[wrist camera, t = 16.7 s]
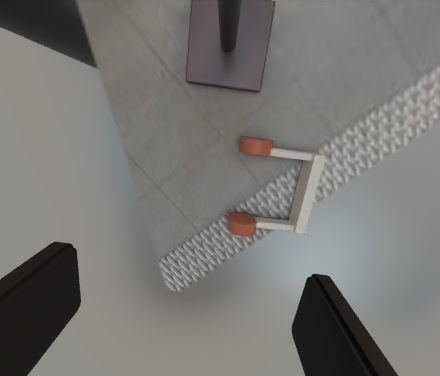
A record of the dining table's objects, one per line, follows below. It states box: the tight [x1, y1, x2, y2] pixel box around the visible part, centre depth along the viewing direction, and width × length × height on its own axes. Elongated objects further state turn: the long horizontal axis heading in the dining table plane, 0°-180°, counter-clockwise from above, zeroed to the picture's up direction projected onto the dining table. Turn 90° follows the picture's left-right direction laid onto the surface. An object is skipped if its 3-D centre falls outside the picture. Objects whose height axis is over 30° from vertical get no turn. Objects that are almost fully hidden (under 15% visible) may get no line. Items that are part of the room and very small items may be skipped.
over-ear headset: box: [227, 136, 326, 236], centre depth 31 cm, size 4×14×12 cm
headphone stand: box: [186, 0, 275, 92], centre depth 21 cm, size 10×10×14 cm
